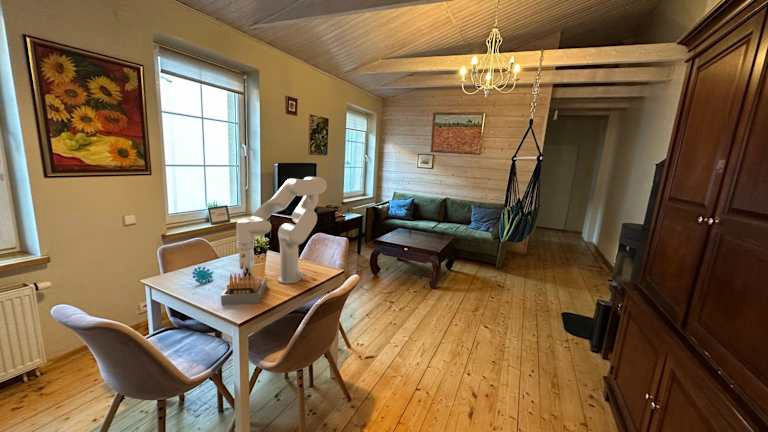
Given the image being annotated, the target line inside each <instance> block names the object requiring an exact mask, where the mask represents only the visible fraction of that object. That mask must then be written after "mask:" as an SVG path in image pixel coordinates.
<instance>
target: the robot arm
mask: <svg viewBox="0 0 768 432" xmlns="http://www.w3.org/2000/svg"><path fill="white" fill-rule="evenodd" d="M327 187H328V185H327V181H326V180H325V178H323V177H318V176H310V175H309V176H306V177H304V178H302V179H299V178H293V177H292V178H291V177H290V178H288V179H287V180H285V182H284V183H283V184H282V185H281V187H279V189H278V191H276V192H275V194H274V195H273V196H272V197H271V198H270V199H269V200H267V201H266V202H264V203H263V204H262V205H260V206H259V207H258V208H257V209H256V210H255V211H254V212H253V214H252V215H251V216H250V217H249V219H240V220H237V221H236V223H235V227H236V245H237V246H236V248H237V250H239V252H238V253H239V256H238V257H239V261H238V262H239V263H238V264H239V269H240V270H242V274H243V273H244V275H245V277H246V275H247V273H248V275H249V276H251V273H252V268H253V266H254V264H255V251H254V248H255V236H254V235H266V234H268V233H270V232H271V230H272V224H271V222H270V221H269V220H268V219H269V218H270V217H271V216H272V215H274V214H275V213H278V212H281V211H284V210H285V209H287V208H288V206H289V205H290V203H291V202H292V201H293V200H294V198H295V197H296V196H297V197H302V199H301V200H300V201H299V204H298V205H297V206H296V207H295V209H294V211H292V214H291V219H292V221H293V222H294V223H295V224H293V223H292V222H291V223H290V222H286V223H283V224H281V225H280V226H279V228H278V231H277V235H278V241H279V242H278V243H279V259H280V260H279V261H280V263H279V266H280V267H279V269H280V271H279V273H280V275H279V276H278V277H277V282H278V283H281V284H286V285H289V284H295V283H298V282H300V281H301V280H302V277H303V278H305V277H306V278H307V277H308V273H307V272H305V271H302V272H301V271H300V269H299V246H300V245H301V244H303V243H304V242H305V241H306V240H307V238H308V236H309V235H310V234H311V233H312V231H313V229H314V228H315V226H316V224H317V221H318V215H317V213H316V212H315V209H316V207H317V206H318V203H319V194H320V195H321V194H323V193H325V191H326V189H327Z"/></svg>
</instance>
